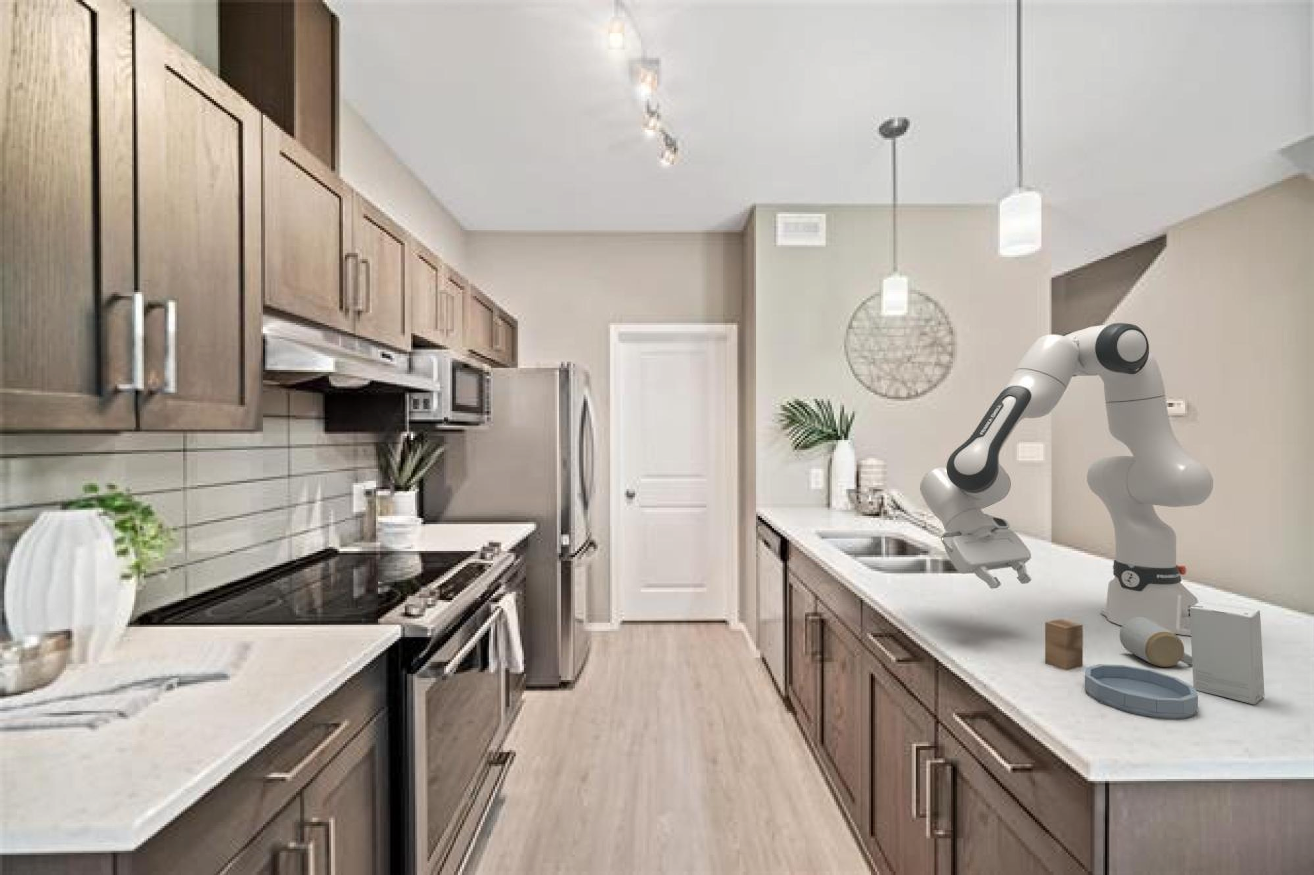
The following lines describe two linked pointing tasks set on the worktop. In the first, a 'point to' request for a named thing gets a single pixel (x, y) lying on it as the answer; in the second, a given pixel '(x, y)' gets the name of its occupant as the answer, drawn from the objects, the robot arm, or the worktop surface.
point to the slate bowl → (1141, 691)
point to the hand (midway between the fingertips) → (1012, 584)
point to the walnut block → (1064, 644)
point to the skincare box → (1227, 651)
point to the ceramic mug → (1153, 642)
